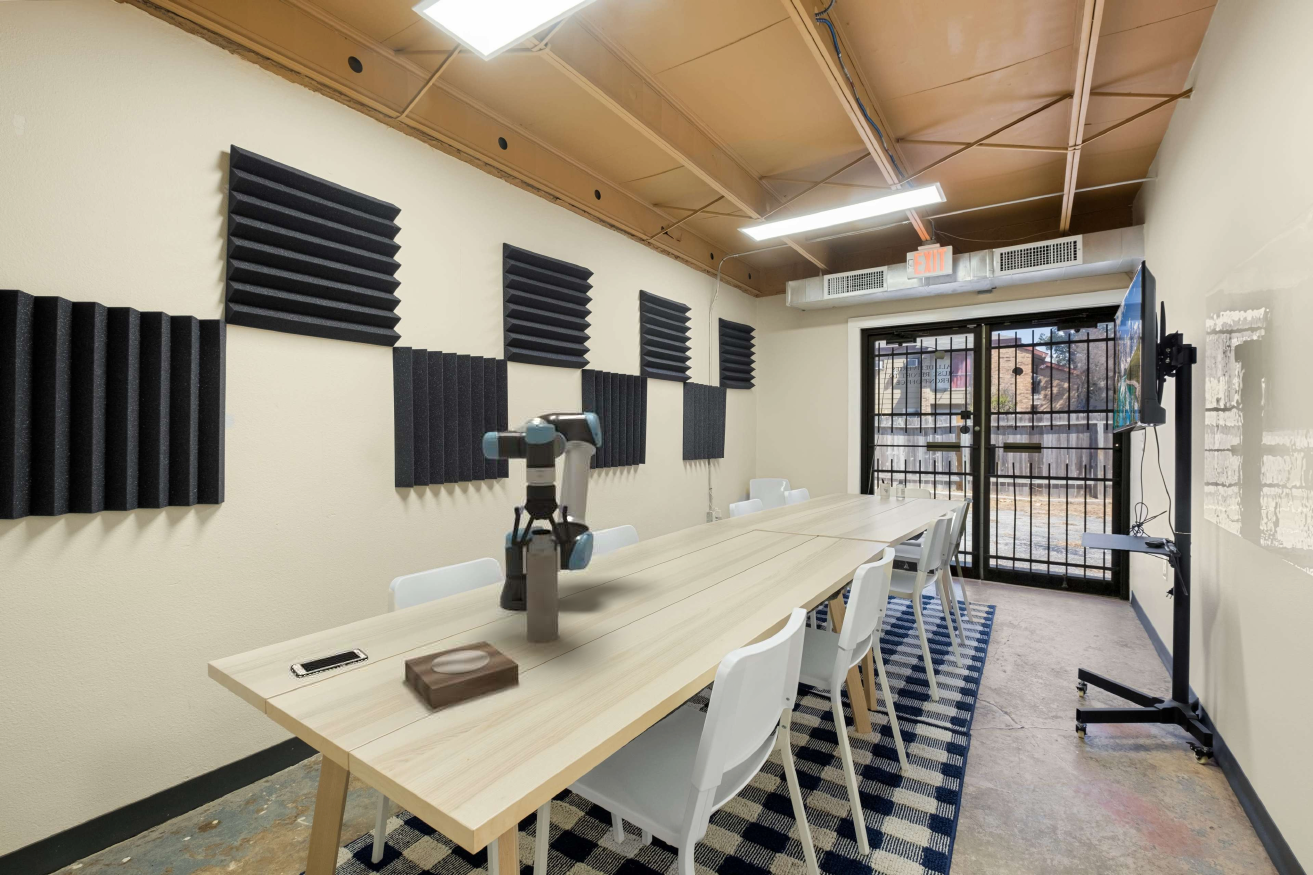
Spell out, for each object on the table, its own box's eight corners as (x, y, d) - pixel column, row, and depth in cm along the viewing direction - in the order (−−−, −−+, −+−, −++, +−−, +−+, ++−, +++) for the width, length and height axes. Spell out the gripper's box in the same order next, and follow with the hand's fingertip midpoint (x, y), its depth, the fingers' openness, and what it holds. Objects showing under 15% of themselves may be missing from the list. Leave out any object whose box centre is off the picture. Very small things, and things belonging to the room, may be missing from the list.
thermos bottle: (532, 631, 155) (531, 527, 155) (561, 632, 154) (560, 527, 154) (522, 642, 147) (521, 532, 147) (553, 643, 146) (552, 532, 146)
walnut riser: (405, 678, 126) (404, 659, 126) (484, 657, 138) (484, 639, 138) (432, 709, 112) (432, 687, 112) (518, 682, 124) (518, 663, 124)
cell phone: (289, 669, 132) (289, 665, 132) (358, 651, 143) (358, 647, 143) (298, 680, 127) (298, 675, 127) (369, 660, 137) (369, 656, 137)
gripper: (498, 486, 145) (499, 576, 145) (582, 484, 148) (582, 572, 148) (501, 483, 152) (502, 569, 153) (581, 481, 155) (581, 565, 156)
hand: (542, 571), depth 151 cm, fingers closed on thermos bottle, 8 cm apart
